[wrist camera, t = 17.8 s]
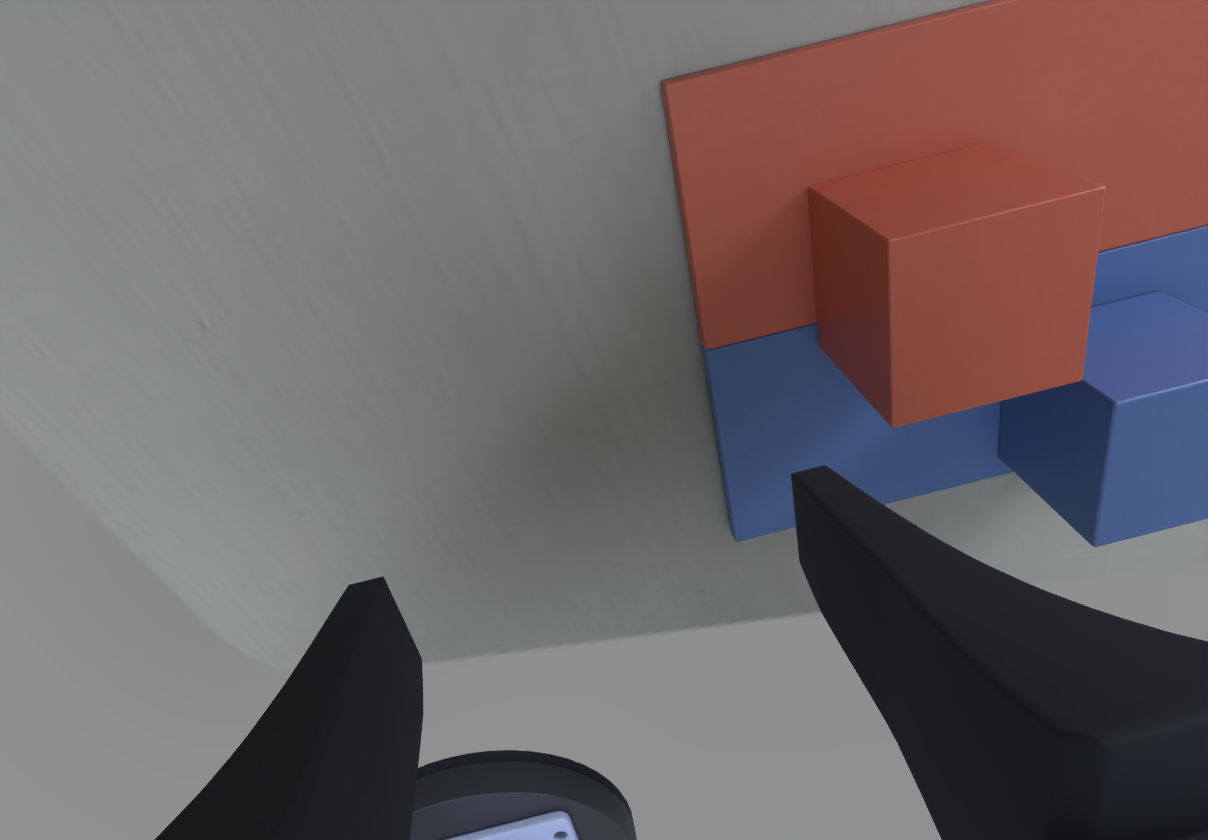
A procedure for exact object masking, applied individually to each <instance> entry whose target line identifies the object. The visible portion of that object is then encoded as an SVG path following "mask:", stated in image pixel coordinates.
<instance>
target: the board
mask: <svg viewBox="0 0 1208 840" xmlns="http://www.w3.org/2000/svg"><path fill="white" fill-rule="evenodd" d="M661 91H662V97H663V103H664V110H665V116H666V122H667V129H668V135H669V142H670V148H671V154H672V161H673V167H674V173H675V180H676V186H677V192H678V199H679V205H680V211H681V218H682V224H683V230H684V237H685V243H686V249H687V256H688V262H689V269H690V275H691V281H692V288H693V294H694V300H695V307H696V313H697V319H698V326H699V332H700V338H701V342H702V351H703V357H704V364H705V370H706V376H707V383H708V389H709V395H710V402H711V408H712V414H713V421H714V427H715V433H716V440H717V446H718V453H719V459H720V465H721V472H722V478H723V484H724V491H725V497H726V503H727V510H728V516H729V522H730V529H731V533H732V535H733V537H734V539H735V541H741V540H745V539H749V538H753V537H757V536H761V535H765V534H769V533H773V532H777V531H781V530H785V529H789V528H793V527H796V520H795V510H794V501H793V491H792V481H791V473H795V472H799V471H803V470H807V469H811V468H815V467H819V466H823V465H826V466H827V467H829V468H831V469H832V470H834V471H835V472H837V473H838V474H839V475H841V476H842V477H844V478H845V479H847V480H848V481H849V482H851V483H852V484H854V485H855V486H857V487H858V488H859V489H861V490H862V491H864V492H865V493H867V494H868V495H870V496H871V497H873V498H874V499H875V500H877V501H878V502H880V503H881V504H883V505H884V504H888V503H892V502H896V501H900V500H903V499H907V498H911V497H915V496H919V495H923V494H927V493H931V492H935V491H939V490H943V489H947V488H951V487H955V486H959V485H963V484H967V483H971V482H975V481H979V480H982V479H986V478H990V477H994V476H998V475H1002V474H1006V473H1010V472H1014V471H1013V470H1012V469H1010V468H1009V467H1008V466H1007V465H1006V464H1005V463H1004V462H1003V461H1002V460H1001V459H1000V458H999V456H998V454H999V439H1000V423H1001V408H1002V401H999V402H995V403H991V404H987V405H983V406H979V407H975V408H971V409H967V410H963V411H959V412H955V413H952V414H948V415H944V416H940V417H936V418H932V419H928V420H924V421H920V422H916V423H912V424H908V425H904V426H900V427H896V428H891V427H890V426H889V424H888V423H887V422H886V421H885V420H884V419H883V418H882V417H881V415H880V414H879V413H878V412H877V411H876V410H875V409H874V408H873V407H872V405H871V404H870V403H869V402H868V401H867V400H866V399H865V398H864V396H863V395H862V394H861V393H860V392H859V391H858V390H857V389H856V387H855V386H854V385H853V384H852V383H851V382H850V381H849V380H848V378H847V377H846V376H845V375H844V374H843V373H842V372H841V371H840V370H839V368H838V367H837V366H836V365H835V364H834V363H833V362H832V361H831V359H830V358H829V357H828V356H827V355H826V354H825V353H824V352H823V350H822V349H821V348H820V347H819V337H818V323H817V309H816V295H815V281H814V267H813V253H812V239H811V225H810V211H809V197H808V187H809V186H812V185H816V184H820V183H824V182H828V181H832V180H836V179H840V178H844V177H849V176H853V175H857V174H861V173H865V172H869V171H873V170H877V169H881V168H885V167H889V166H893V165H897V164H901V163H905V162H909V161H913V160H917V159H921V158H925V157H929V156H933V155H938V154H942V153H946V152H950V151H954V150H958V149H962V148H966V147H970V146H974V145H978V144H986V145H988V146H991V147H994V148H997V149H1000V150H1003V151H1005V152H1008V153H1011V154H1014V155H1017V156H1020V157H1022V158H1025V159H1028V160H1031V161H1034V162H1037V163H1039V164H1042V165H1045V166H1048V167H1051V168H1054V169H1056V170H1059V171H1062V172H1065V173H1068V174H1071V175H1073V176H1076V177H1079V178H1082V179H1085V180H1088V181H1090V182H1093V183H1096V184H1099V185H1102V186H1104V187H1105V197H1104V205H1103V213H1102V221H1101V229H1100V237H1099V245H1098V253H1097V262H1096V270H1095V278H1094V286H1093V294H1092V302H1091V308H1092V307H1096V306H1100V305H1104V304H1108V303H1112V302H1116V301H1120V300H1124V299H1128V298H1132V297H1136V296H1140V295H1144V294H1148V293H1152V292H1156V291H1159V292H1162V293H1164V294H1166V295H1168V296H1170V297H1172V298H1174V299H1176V300H1178V301H1181V302H1183V303H1185V304H1187V305H1189V306H1191V307H1193V308H1195V309H1197V310H1199V311H1201V312H1203V313H1206V314H1208V0H991V1H987V2H983V3H979V4H975V5H971V6H967V7H962V8H958V9H954V10H950V11H946V12H942V13H938V14H934V15H930V16H926V17H922V18H918V19H913V20H909V21H905V22H901V23H897V24H893V25H889V26H885V27H881V28H877V29H873V30H868V31H864V32H860V33H856V34H852V35H848V36H844V37H840V38H836V39H832V40H828V41H824V42H819V43H815V44H811V45H807V46H803V47H799V48H795V49H791V50H787V51H783V52H779V53H774V54H770V55H766V56H762V57H758V58H754V59H750V60H746V61H742V62H738V63H734V64H730V65H725V66H721V67H717V68H713V69H709V70H705V71H701V72H697V73H693V74H689V75H685V76H681V77H676V78H672V79H668V80H664V81H662V82H661Z"/></svg>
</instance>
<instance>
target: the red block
mask: <svg viewBox="0 0 1208 840" xmlns="http://www.w3.org/2000/svg"><path fill="white" fill-rule="evenodd" d="M808 197H809V211H810V225H811V239H812V253H813V267H814V281H815V295H816V309H817V323H818V337H819V347H820V348H821V349H822V350H823V352H824V353H825V354H826V355H827V356H828V357H829V358H830V359H831V361H832V362H833V363H834V364H835V365H836V366H837V367H838V368H839V370H840V371H841V372H842V373H843V374H844V375H845V376H846V377H847V378H848V380H849V381H850V382H851V383H852V384H853V385H854V386H855V387H856V389H857V390H858V391H859V392H860V393H861V394H862V395H863V396H864V398H865V399H866V400H867V401H868V402H869V403H870V404H871V405H872V407H873V408H874V409H875V410H876V411H877V412H878V413H879V414H880V415H881V417H882V418H883V419H884V420H885V421H886V422H887V423H888V424H889V426H890V427H891V428H896V427H900V426H904V425H908V424H912V423H916V422H920V421H924V420H928V419H932V418H936V417H940V416H944V415H948V414H952V413H955V412H959V411H963V410H967V409H971V408H975V407H979V406H983V405H987V404H991V403H995V402H999V401H1003V400H1007V399H1011V398H1015V397H1019V396H1023V395H1027V394H1031V393H1035V392H1039V391H1043V390H1047V389H1051V388H1055V387H1059V386H1063V385H1067V384H1071V383H1075V382H1079V381H1081V380H1082V375H1083V367H1084V359H1085V351H1086V343H1087V335H1088V326H1089V318H1090V310H1091V302H1092V294H1093V286H1094V278H1095V270H1096V262H1097V253H1098V245H1099V237H1100V229H1101V221H1102V213H1103V205H1104V197H1105V187H1104V186H1102V185H1099V184H1096V183H1093V182H1090V181H1088V180H1085V179H1082V178H1079V177H1076V176H1073V175H1071V174H1068V173H1065V172H1062V171H1059V170H1056V169H1054V168H1051V167H1048V166H1045V165H1042V164H1039V163H1037V162H1034V161H1031V160H1028V159H1025V158H1022V157H1020V156H1017V155H1014V154H1011V153H1008V152H1005V151H1003V150H1000V149H997V148H994V147H991V146H988V145H986V144H978V145H974V146H970V147H966V148H962V149H958V150H954V151H950V152H946V153H942V154H938V155H933V156H929V157H925V158H921V159H917V160H913V161H909V162H905V163H901V164H897V165H893V166H889V167H885V168H881V169H877V170H873V171H869V172H865V173H861V174H857V175H853V176H849V177H844V178H840V179H836V180H832V181H828V182H824V183H820V184H816V185H812V186H809V187H808Z"/></svg>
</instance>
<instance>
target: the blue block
mask: <svg viewBox="0 0 1208 840" xmlns="http://www.w3.org/2000/svg"><path fill="white" fill-rule="evenodd" d="M998 456H999V458H1000V459H1001V460H1002V461H1003V462H1004V463H1005V464H1006V465H1007V466H1008V467H1009V468H1010V469H1012V470H1013V471H1014V472H1015V473H1016V474H1017V475H1018V476H1019V477H1020V478H1021V479H1022V480H1023V481H1024V482H1025V483H1026V484H1027V485H1028V486H1029V487H1031V488H1032V489H1033V490H1034V491H1035V492H1036V493H1037V494H1038V495H1039V496H1040V497H1041V498H1042V499H1043V500H1044V501H1045V502H1046V503H1047V504H1048V505H1050V506H1051V507H1052V508H1053V509H1054V510H1055V511H1056V512H1057V513H1058V514H1059V515H1060V516H1061V517H1062V518H1063V519H1064V520H1065V521H1066V522H1068V523H1069V524H1070V525H1071V526H1072V527H1073V528H1074V529H1075V530H1076V531H1077V532H1078V533H1079V534H1080V535H1081V536H1082V537H1083V538H1084V539H1085V540H1087V541H1088V542H1089V543H1090V544H1091V545H1092V546H1094V547H1098V546H1102V545H1106V544H1110V543H1113V542H1117V541H1121V540H1125V539H1129V538H1133V537H1137V536H1141V535H1145V534H1149V533H1153V532H1157V531H1161V530H1165V529H1168V528H1172V527H1176V526H1180V525H1184V524H1188V523H1192V522H1196V521H1200V520H1204V519H1208V314H1206V313H1203V312H1201V311H1199V310H1197V309H1195V308H1193V307H1191V306H1189V305H1187V304H1185V303H1183V302H1181V301H1178V300H1176V299H1174V298H1172V297H1170V296H1168V295H1166V294H1164V293H1162V292H1159V291H1156V292H1152V293H1148V294H1144V295H1140V296H1136V297H1132V298H1128V299H1124V300H1120V301H1116V302H1112V303H1108V304H1104V305H1100V306H1096V307H1092V308H1091V310H1090V318H1089V326H1088V335H1087V343H1086V351H1085V359H1084V367H1083V375H1082V380H1081V381H1079V382H1075V383H1071V384H1067V385H1063V386H1059V387H1055V388H1051V389H1047V390H1043V391H1039V392H1035V393H1031V394H1027V395H1023V396H1019V397H1015V398H1011V399H1007V400H1003V401H1002V408H1001V423H1000V439H999V454H998Z"/></svg>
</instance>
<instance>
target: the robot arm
mask: <svg viewBox="0 0 1208 840" xmlns="http://www.w3.org/2000/svg"><path fill="white" fill-rule="evenodd" d="M791 481H792V491H793V501H794V510H795V520H796V530H797V540H798V550H799V559H800V564H801V566H802V569H803V571H804V574H805V576H806V578H807V581H808V583H809V585H810V588H811V590H812V592H813V595H814V597H815V599H816V601H817V604H818V606H819V608H820V610H821V612H822V614H823V616H824V618H825V619H826V621H827V623H828V625H829V626H830V628H831V630H832V631H833V633H834V635H835V636H836V638H837V640H838V642H839V643H840V645H841V647H842V648H843V650H844V652H845V653H846V655H847V657H848V659H849V660H850V662H851V663H852V665H853V667H854V669H855V670H856V672H857V673H858V675H859V677H860V679H861V680H862V682H863V684H864V685H865V687H866V689H867V690H868V692H869V694H870V695H871V697H872V699H873V700H874V702H875V704H876V706H877V707H878V709H879V711H880V712H881V714H882V716H883V717H884V719H885V721H886V722H887V725H888V726H889V728H890V730H891V732H892V734H893V736H894V738H895V739H896V741H897V743H898V745H899V747H900V749H901V752H902V754H903V756H904V758H905V760H906V762H907V764H908V767H909V769H910V771H911V773H912V775H913V777H914V779H915V782H916V784H917V786H918V788H919V790H920V792H921V794H922V796H923V799H924V801H925V803H926V805H927V808H928V810H929V812H930V814H931V816H932V819H933V821H934V823H935V826H936V828H937V830H938V832H939V834H940V837H941V839H942V840H1208V642H1207V641H1203V640H1199V639H1195V638H1191V637H1186V636H1182V635H1178V634H1174V633H1170V632H1166V631H1163V630H1160V629H1156V628H1153V627H1150V626H1147V625H1143V624H1140V623H1136V622H1133V621H1129V620H1126V619H1123V618H1120V617H1117V616H1114V615H1111V614H1108V613H1105V612H1102V611H1099V610H1096V609H1093V608H1090V607H1087V606H1084V605H1082V604H1079V603H1076V602H1074V601H1071V600H1068V599H1066V598H1063V597H1060V596H1058V595H1055V594H1052V593H1050V592H1047V591H1045V590H1042V589H1040V588H1037V587H1035V586H1032V585H1030V584H1028V583H1025V582H1023V581H1021V580H1019V579H1016V578H1014V577H1012V576H1010V575H1008V574H1005V573H1003V572H1001V571H999V570H997V569H995V568H992V567H990V566H988V565H986V564H984V563H982V562H980V561H978V560H976V559H974V558H972V557H970V556H968V555H966V554H964V553H962V552H961V551H959V550H957V549H955V548H953V547H952V546H950V545H948V544H946V543H944V542H942V541H941V540H939V539H937V538H935V537H934V536H932V535H930V534H929V533H927V532H925V531H924V530H922V529H921V528H919V527H917V526H916V525H914V524H913V523H911V522H909V521H908V520H906V519H905V518H903V517H901V516H900V515H898V514H897V513H895V512H893V511H892V510H890V509H889V508H887V507H886V506H884V505H883V504H881V503H880V502H878V501H877V500H875V499H874V498H873V497H871V496H870V495H868V494H867V493H865V492H864V491H862V490H861V489H859V488H858V487H857V486H855V485H854V484H852V483H851V482H849V481H848V480H847V479H845V478H844V477H842V476H841V475H839V474H838V473H837V472H835V471H834V470H832V469H831V468H829V467H827V466H826V465H823V466H819V467H815V468H811V469H807V470H803V471H799V472H795V473H791ZM422 721H423V678H422V658H421V656H420V654H419V651H418V649H417V647H416V645H415V643H414V641H413V639H412V636H411V634H410V632H409V630H408V628H407V626H406V624H405V622H404V619H403V617H402V615H401V613H400V611H399V609H398V607H397V604H396V602H395V600H394V598H393V596H392V594H391V592H390V590H389V587H388V585H387V583H386V581H385V579H384V577H379V578H375V579H371V580H367V581H363V582H359V583H355V584H351V585H349V586H348V587H347V589H346V590H345V592H344V593H343V595H342V596H341V598H340V599H339V601H338V602H337V604H336V606H335V607H334V609H333V610H332V612H331V613H330V615H329V617H328V618H327V620H326V621H325V623H324V625H323V626H322V628H321V629H320V631H319V632H318V634H317V636H316V637H315V639H314V640H313V642H312V644H311V645H310V647H309V648H308V650H307V651H306V653H305V654H304V656H303V657H302V659H301V660H300V662H299V664H298V665H297V667H296V668H295V670H294V671H293V673H292V674H291V676H290V677H289V679H288V680H287V682H286V683H285V685H284V686H283V688H282V689H281V690H280V692H279V693H278V694H277V696H276V697H275V699H274V700H273V701H272V703H271V704H270V705H269V707H268V708H267V710H266V711H265V712H264V714H263V715H262V717H261V718H260V719H259V721H258V722H257V723H256V725H255V726H254V728H253V729H252V730H251V732H250V733H249V734H248V736H247V737H246V738H245V739H244V741H243V742H242V743H241V744H240V746H239V747H238V748H237V749H236V751H235V752H234V753H233V755H232V756H231V757H230V758H229V759H228V760H227V762H226V763H225V764H224V765H223V766H222V767H221V769H220V770H219V771H218V772H217V773H216V774H215V776H214V777H213V778H212V779H211V781H210V782H209V783H208V784H207V785H206V786H205V787H204V788H203V790H202V791H201V792H200V793H199V794H198V795H197V796H196V797H195V798H194V799H193V800H192V801H191V803H190V804H189V805H188V806H187V807H186V808H185V809H184V810H183V811H182V812H181V813H180V814H179V815H178V816H177V817H176V818H175V819H174V820H173V821H172V822H171V823H170V824H169V825H168V826H167V827H166V828H165V830H164V831H163V832H162V833H161V834H160V835H159V836H158V837H157V838H156V839H155V840H410V834H411V825H412V816H413V807H414V798H415V789H416V780H417V771H418V761H419V752H420V742H421V731H422ZM445 840H578V837H577V834H576V832H575V829H574V827H573V824H572V821H571V819H570V816H569V815H568V814H567V813H565V812H563V811H554V812H550V813H546V814H542V815H538V816H534V817H530V818H526V819H523V820H519V821H515V822H511V823H507V824H503V825H499V826H495V827H491V828H488V829H484V830H480V831H476V832H472V833H468V834H464V835H460V836H456V837H453V838H449V839H445Z"/></svg>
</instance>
